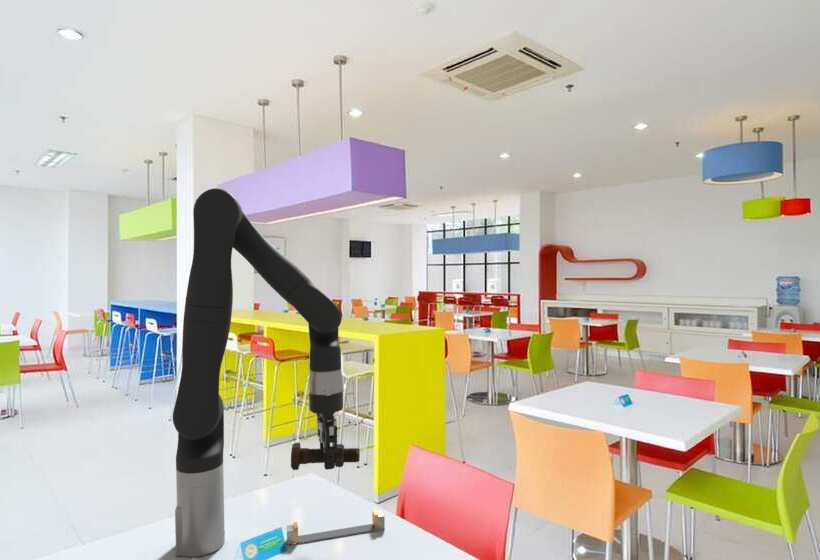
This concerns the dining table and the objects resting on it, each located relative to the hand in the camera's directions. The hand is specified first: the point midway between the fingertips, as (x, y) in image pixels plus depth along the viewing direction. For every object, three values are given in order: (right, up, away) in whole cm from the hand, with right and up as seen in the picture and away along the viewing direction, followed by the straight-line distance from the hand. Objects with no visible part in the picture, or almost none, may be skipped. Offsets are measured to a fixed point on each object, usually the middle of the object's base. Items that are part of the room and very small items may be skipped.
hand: (327, 463), depth 113 cm
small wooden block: (+12, -14, 0) cm, 19 cm away
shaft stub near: (-7, -15, -6) cm, 17 cm away
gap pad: (+2, -15, -3) cm, 15 cm away
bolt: (0, -1, 0) cm, 1 cm away
